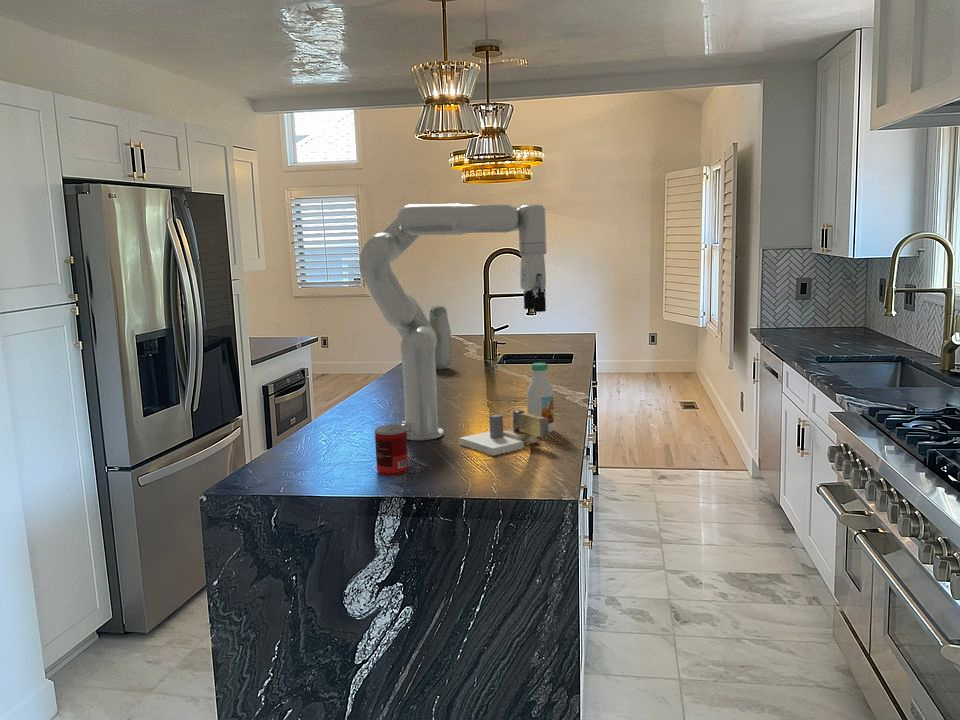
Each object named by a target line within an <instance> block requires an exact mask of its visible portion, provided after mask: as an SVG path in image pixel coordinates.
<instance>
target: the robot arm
mask: <svg viewBox="0 0 960 720" xmlns="http://www.w3.org/2000/svg"><path fill="white" fill-rule="evenodd" d="M546 226H547V225H546V208H545V207H544V205H543V204H525V205H521V206H512V205H509V204H462V203H432V204H428V203H426V204H425V203H423V204H421V203H420V204H418V203H416V204H415V203H413V204H412V203H411V204H407V205H404V206H403V207H401V209H400V210H398V214H397V217H396V218H395V219H394V220H393V221H392V222H391V223H390V224H389V225H388V226H386V228H385V229H383V230H382V232H378V233H375V234H373V235H372V236H371V237H369V238H368V240H367V241H365V244H364V245H363V247H362V248H361V251H360V255H359V263H358V265H359V272H360V274H361V278H362V279H363V282H364V284H365V285H366V287H367V289H368V290H369V292H370V295H371V296H372V298H373V300H374V302H375V303H376V305H377V307H378V308H379V310H380V312H381V314H382V315H383V318H384V319H385V321H386V323H387V324H389V325H390V326H391V327H392V328H395V329H396V331H397V332H398V334H399V336H400V338H401V344H400V356H401V365H402V380H403V381H402V383H403V399H404V400H403V402H404V420H403V421H401V424H400V425H402V426H405V427H406V434H407V441H408V440H409V441H428V440H436V439H438V438H441V437H442V436H444V433H445V432H444V429H443V428H441V427H439V419H438V417H439V415H438V414H439V413H438V412H439V411H438V392H437V390H438V389H437V369H436V364H435V347H436V343H437V338H436V334H435V332H434V330H433V328H432V327H431V325H430V323H429V320H428V319H427V317H426V315H425V313H424V311H423V310H422V307H420V304H419V302H418V301H417V300H416V299H415V298H414V297H413V296H412V295H410V294H408V293H406V291H405V290H404V289H403V287H402V285H401V283H400V282H399V280H398V277H397V276H396V275H395V274H394V272H393V270H392V268H391V262H393V261H395V260H396V259H397V258H399V257H400V256H401V255H403V253H404V252H405V251H406V250H407V249H408V248H410V247H411V246H412V244H413V243H415V242H416V240H418V238H419V237H420V236H444V235H446V236H449V235H450V236H451V235H452V236H454V235H455V236H456V235H458V236H459V235H465V234H471V233H472V234H473V233H475V234H478V233H481V234H482V233H501V234H502V233H509V232H510V233H511V232H517V231H518V243H519V245H518V246H519V248H518V249H519V250H518V251H519V256H521V257H520V277H519V278H520V288H521V289H522V290H523V309H524V310H533V311H534V313H542V312H543V313H544V312H546V311H547V309H546V307H547V303H546V297H547V296H546V295H547V294H546V286H547V279H546V276H547V275H546V263H545V262H546V261H545V255H547V235H546V234H547V230H546Z"/></svg>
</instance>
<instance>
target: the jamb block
mask: <svg viewBox="0 0 960 720" xmlns="http://www.w3.org/2000/svg"><path fill="white" fill-rule="evenodd" d="M503 436H507V437H510V438H514V439H517V440H521V441H523V442H524V446H526V445H525V444H527V445H530V444H529V443H531V444H535V442H536V443H537V442H538V436H535V435H531V434H528V433H524V432H515V431H513V428H511V429H505V430H503Z"/></svg>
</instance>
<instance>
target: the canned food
mask: <svg viewBox="0 0 960 720" xmlns="http://www.w3.org/2000/svg"><path fill="white" fill-rule="evenodd" d="M374 438H375V439H374V441H375V442H374V443H375V456H376V457H375V460H376V470H377V473H378V474H379V475H382V476H387V477H392V476H393V477H394V476H400V475H403V474H405V473H407V471H408V467H409V466H408V465H409V462H408V440H407V434H406V427H405V426H402V425H401V424H386V425H381V426H378V427H376V428H375V429H374Z"/></svg>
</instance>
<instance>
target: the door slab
mask: <svg viewBox="0 0 960 720" xmlns="http://www.w3.org/2000/svg"><path fill="white" fill-rule="evenodd" d="M503 431H504V416H503V415H502V414H494V415H489V431H485V432H480V433H475V434H470V435H467V436H462V437H459V438H458V439H459V446H462V445H463V446H462V447H465V446H466V448H468V447H469V448H468V449H471V448H472V449H471V450H474V449H475V451H477V450H478V452H480V451H481V453H483V452H484V454H486V453H487V455H490V456H492V455H494V456H498V455H502V454H501V453H503V454H507V453H510V451H511V452H514V450H515V451H519V450H523V449H522V448H525V445H524V442H523V441H521V440H517V439H514V438H510V437H507V436H503ZM518 449H519V450H518ZM506 452H507V453H506ZM497 454H498V455H497Z"/></svg>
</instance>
